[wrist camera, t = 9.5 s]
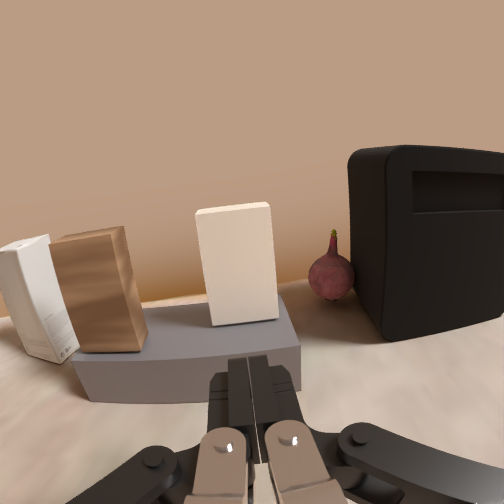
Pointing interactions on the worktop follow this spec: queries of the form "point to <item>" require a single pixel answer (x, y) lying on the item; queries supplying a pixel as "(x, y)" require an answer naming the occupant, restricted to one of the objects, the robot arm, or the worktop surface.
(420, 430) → the worktop surface
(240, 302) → the wooden block
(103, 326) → the walnut key
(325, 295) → the vegetable
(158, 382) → the keypad base
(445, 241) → the air purifier
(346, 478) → the robot arm
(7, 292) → the skincare box
